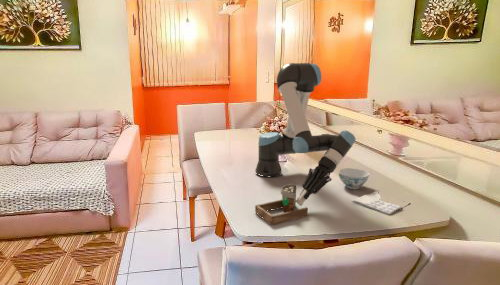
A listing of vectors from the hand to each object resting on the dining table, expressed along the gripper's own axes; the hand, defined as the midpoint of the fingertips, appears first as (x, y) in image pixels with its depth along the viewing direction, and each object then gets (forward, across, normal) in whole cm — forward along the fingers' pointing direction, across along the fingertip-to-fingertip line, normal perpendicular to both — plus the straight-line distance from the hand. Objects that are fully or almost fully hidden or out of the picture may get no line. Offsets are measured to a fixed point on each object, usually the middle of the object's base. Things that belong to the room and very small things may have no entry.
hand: (298, 203), depth 148 cm
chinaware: (-27, +10, -32) cm, 44 cm away
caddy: (+8, 0, +4) cm, 9 cm away
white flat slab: (-24, -12, -30) cm, 40 cm away
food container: (+5, +3, 0) cm, 6 cm away
